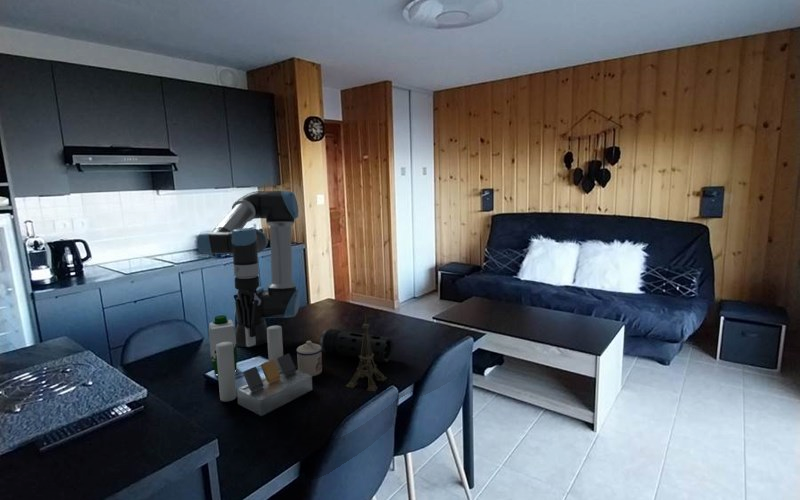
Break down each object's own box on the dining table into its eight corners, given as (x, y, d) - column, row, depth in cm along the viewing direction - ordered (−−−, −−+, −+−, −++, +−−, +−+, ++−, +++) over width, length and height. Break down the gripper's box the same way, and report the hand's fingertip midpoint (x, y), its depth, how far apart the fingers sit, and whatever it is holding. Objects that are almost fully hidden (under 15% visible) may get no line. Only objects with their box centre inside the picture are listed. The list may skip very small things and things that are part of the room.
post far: (266, 376, 154) (263, 328, 152) (278, 371, 158) (275, 324, 155) (275, 380, 152) (272, 331, 149) (287, 375, 155) (284, 327, 152)
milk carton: (236, 363, 165) (232, 313, 162) (239, 373, 158) (235, 320, 154) (211, 368, 161) (206, 317, 158) (213, 378, 154) (208, 324, 150)
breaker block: (237, 403, 136) (236, 388, 135) (289, 380, 152) (288, 365, 151) (261, 416, 129) (260, 399, 128) (312, 389, 145) (311, 374, 144)
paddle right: (285, 377, 144) (277, 358, 145) (294, 372, 147) (286, 354, 148) (287, 375, 143) (279, 357, 144) (297, 371, 146) (289, 353, 147)
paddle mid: (268, 384, 138) (260, 365, 140) (278, 379, 142) (270, 361, 143) (271, 382, 138) (262, 363, 139) (281, 378, 141) (273, 359, 142)
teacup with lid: (321, 376, 154) (320, 345, 152) (295, 378, 153) (294, 346, 152) (324, 362, 166) (323, 333, 164) (300, 363, 165) (299, 334, 163)
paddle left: (251, 392, 133) (242, 372, 135) (262, 387, 137) (253, 368, 138) (253, 390, 132) (244, 371, 134) (264, 385, 136) (256, 366, 137)
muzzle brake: (383, 368, 161) (383, 342, 159) (318, 357, 171) (317, 332, 170) (393, 358, 170) (393, 333, 168) (331, 348, 180) (330, 324, 178)
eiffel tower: (346, 386, 147) (344, 315, 143) (359, 373, 157) (358, 306, 153) (374, 391, 143) (373, 319, 139) (386, 378, 153) (386, 309, 149)
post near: (217, 398, 139) (212, 345, 136) (231, 392, 143) (227, 340, 140) (225, 403, 137) (221, 348, 134) (239, 396, 140) (236, 343, 137)
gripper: (224, 275, 142) (229, 344, 146) (248, 280, 134) (253, 353, 138) (245, 271, 148) (249, 338, 152) (268, 276, 140) (272, 346, 144)
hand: (251, 345), depth 145 cm, fingers closed
